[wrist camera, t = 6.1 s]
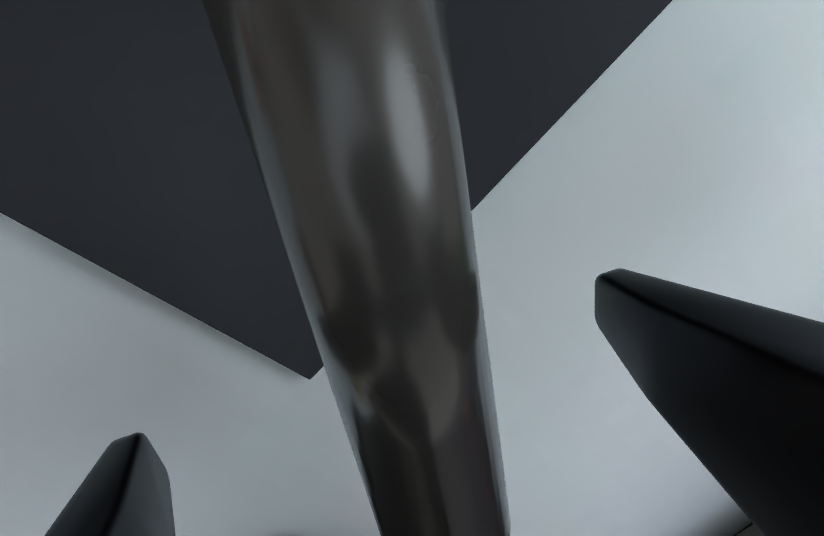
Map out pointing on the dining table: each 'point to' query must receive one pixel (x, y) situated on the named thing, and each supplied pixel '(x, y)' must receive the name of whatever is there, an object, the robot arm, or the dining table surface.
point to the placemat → (239, 140)
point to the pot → (378, 241)
